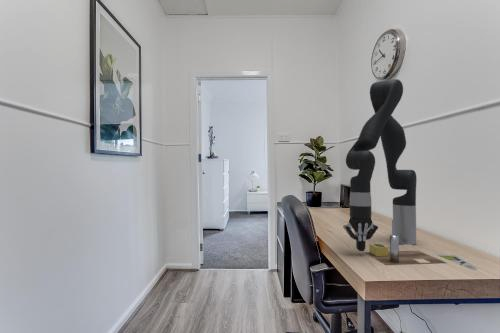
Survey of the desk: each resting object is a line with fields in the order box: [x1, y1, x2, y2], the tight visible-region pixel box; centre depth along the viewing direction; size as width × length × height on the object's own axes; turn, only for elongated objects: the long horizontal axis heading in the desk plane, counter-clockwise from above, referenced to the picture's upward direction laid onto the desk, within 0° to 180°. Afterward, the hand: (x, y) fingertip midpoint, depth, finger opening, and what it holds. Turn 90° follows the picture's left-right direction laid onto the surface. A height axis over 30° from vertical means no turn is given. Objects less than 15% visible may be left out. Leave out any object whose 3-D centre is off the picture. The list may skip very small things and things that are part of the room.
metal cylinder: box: [389, 233, 400, 263], centre depth 92 cm, size 3×3×9 cm
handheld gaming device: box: [434, 253, 478, 270], centre depth 97 cm, size 9×1×15 cm
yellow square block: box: [368, 242, 389, 256], centre depth 100 cm, size 5×5×4 cm
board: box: [364, 250, 447, 266], centre depth 97 cm, size 14×22×2 cm, turn 95°
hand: (360, 250), depth 100 cm, fingers closed
